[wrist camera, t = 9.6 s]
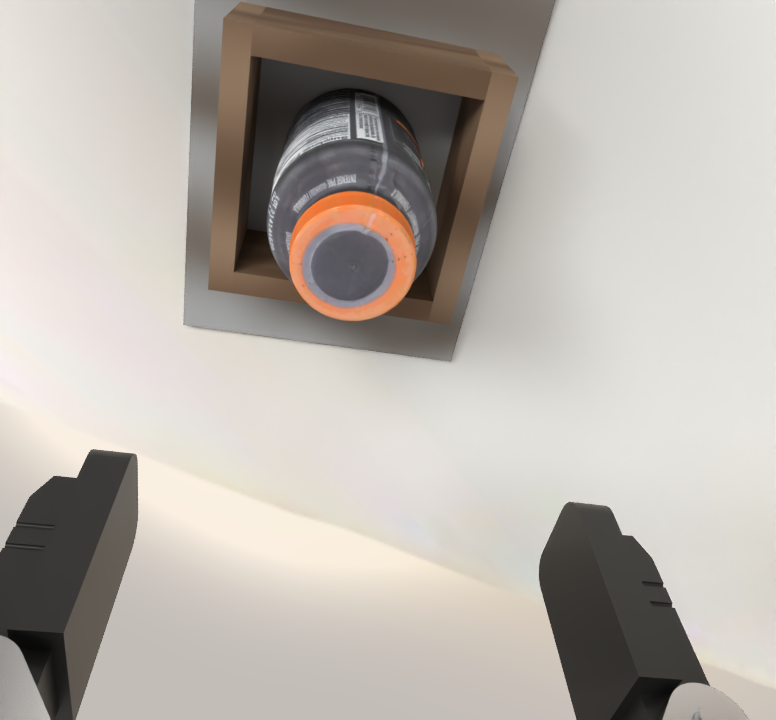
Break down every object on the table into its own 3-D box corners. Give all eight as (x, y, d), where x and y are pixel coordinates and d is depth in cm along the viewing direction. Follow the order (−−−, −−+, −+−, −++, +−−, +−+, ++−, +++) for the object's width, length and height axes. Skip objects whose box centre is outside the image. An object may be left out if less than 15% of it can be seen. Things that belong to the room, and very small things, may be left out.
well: (202, -157, 25) (173, -166, 21) (572, -70, 27) (612, -64, 23) (185, 320, 36) (163, 375, 32) (449, 357, 38) (461, 413, 34)
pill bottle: (419, 214, 33) (448, 345, 23) (292, 222, 33) (270, 357, 23) (416, 80, 29) (447, 170, 20) (275, 89, 29) (240, 183, 20)
